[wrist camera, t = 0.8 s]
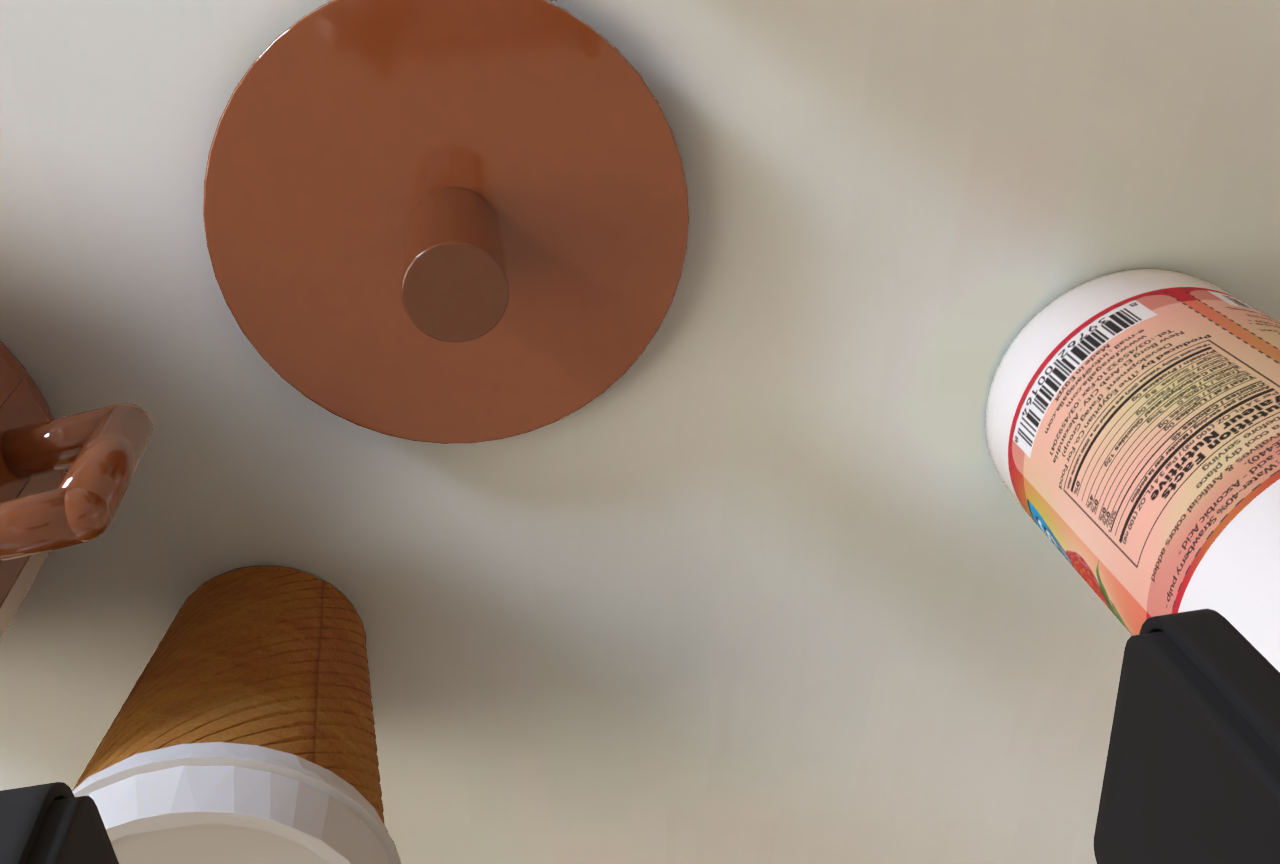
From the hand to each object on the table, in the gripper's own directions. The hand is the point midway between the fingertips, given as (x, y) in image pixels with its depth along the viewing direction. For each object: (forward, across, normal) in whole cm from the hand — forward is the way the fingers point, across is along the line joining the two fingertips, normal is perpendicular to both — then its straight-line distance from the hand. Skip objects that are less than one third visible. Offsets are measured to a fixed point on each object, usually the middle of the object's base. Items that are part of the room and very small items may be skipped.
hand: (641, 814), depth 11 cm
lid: (+25, +2, +2) cm, 25 cm away
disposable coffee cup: (+25, +10, +16) cm, 31 cm away
